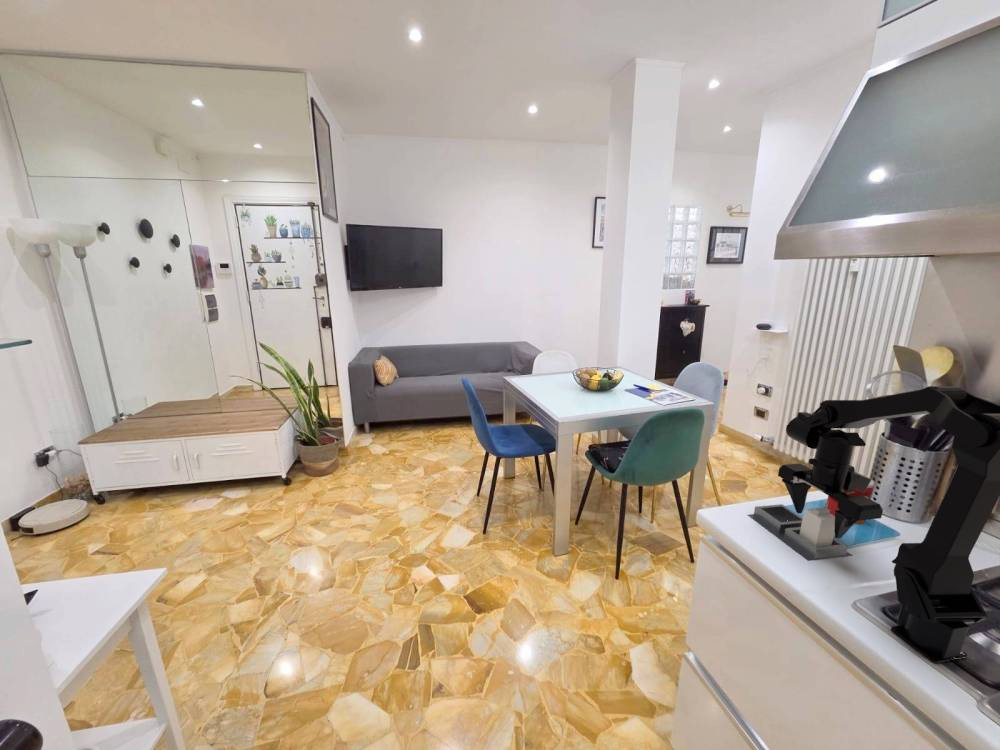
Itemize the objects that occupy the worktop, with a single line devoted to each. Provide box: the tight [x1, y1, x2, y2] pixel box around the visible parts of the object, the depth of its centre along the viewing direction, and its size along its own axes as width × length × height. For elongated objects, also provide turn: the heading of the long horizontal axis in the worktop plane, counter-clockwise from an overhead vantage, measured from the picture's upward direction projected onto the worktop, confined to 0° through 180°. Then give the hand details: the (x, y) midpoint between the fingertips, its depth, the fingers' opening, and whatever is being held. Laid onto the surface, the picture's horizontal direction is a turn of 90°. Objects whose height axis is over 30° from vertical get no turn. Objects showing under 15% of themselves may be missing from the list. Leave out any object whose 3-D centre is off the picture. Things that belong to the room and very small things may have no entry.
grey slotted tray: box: [747, 503, 853, 562], centre depth 93 cm, size 17×11×3 cm, turn 9°
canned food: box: [825, 474, 875, 525], centre depth 100 cm, size 8×8×11 cm
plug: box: [799, 506, 835, 547], centre depth 88 cm, size 4×4×9 cm
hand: (817, 524), depth 88 cm, fingers open, 9 cm apart
